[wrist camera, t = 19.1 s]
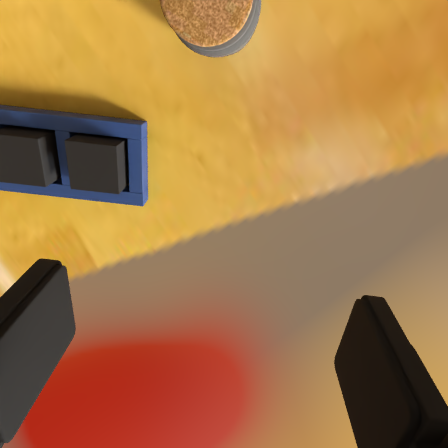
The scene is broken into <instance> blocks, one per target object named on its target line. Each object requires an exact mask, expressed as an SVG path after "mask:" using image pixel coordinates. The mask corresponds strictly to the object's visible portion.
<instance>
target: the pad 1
mask: <svg viewBox="0 0 448 448" xmlns="http://www.w3.org/2000/svg"><path fill="white" fill-rule="evenodd" d="M60 177H61V172H60V165H59V158H58V150H57V143H56V136H55V130H49V129H40V128H31V127H22V126H13V125H10V126H7V127H4V128H1V129H0V182H4V183H13V184H22V185H31V186H40V187H47V186H49V185H50V184H52V183H53V182H54V181H56V180H57V179H59V178H60Z"/></svg>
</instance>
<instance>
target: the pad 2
mask: <svg viewBox="0 0 448 448" xmlns="http://www.w3.org/2000/svg"><path fill="white" fill-rule="evenodd" d="M127 139H128V138H121V137H112V136H103V135H94V134H85V133H78V134H76V135H74V136H72V137H70V138H68V139H66V140H65V149H66V157H67V164H68V172H69V180H70V188H71V189H75V190H84V191H93V192H102V193H111V194H120V193H121V192H122V190H123V189H124V188H125V187H126V186H127V185H128V184H129V168H128V143H127Z"/></svg>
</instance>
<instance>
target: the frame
mask: <svg viewBox="0 0 448 448" xmlns="http://www.w3.org/2000/svg"><path fill="white" fill-rule="evenodd" d="M10 125H13V126H22V127H31V128H40V129H49V130H55V136H56V143H57V150H58V158H59V165H60V172H61V178H59V179H57V180H56V181H54V182H53V183H52V184H50V185H49V186H47V187H40V186H31V185H22V184H13V183H4V182H0V190H3V191H12V192H21V193H30V194H39V195H48V196H56V197H65V198H74V199H83V200H92V201H101V202H110V203H119V204H128V205H137V206H144V204H145V203H146V201H147V200H148V175H147V121H142V120H133V119H124V118H115V117H106V116H97V115H88V114H79V113H70V112H61V111H52V110H43V109H34V108H25V107H16V106H7V105H0V129H1V128H4V127H7V126H10ZM78 133H85V134H94V135H103V136H112V137H121V138H128V139H127V143H128V168H129V185H127V186H126V187H125V188H124V189H123V190H122V192H121V193H120V194H111V193H102V192H93V191H84V190H75V189H71V188H70V180H69V172H68V164H67V157H66V149H65V140H66V139H68V138H70V137H72V136H74V135H76V134H78Z"/></svg>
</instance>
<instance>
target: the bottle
mask: <svg viewBox="0 0 448 448" xmlns="http://www.w3.org/2000/svg"><path fill="white" fill-rule="evenodd" d="M160 4H161V8H162V11H163V14H164V16H165V18H166V20H167V22H168V23H169V25H170V26H171V28H172V29H173V30H174V31H175V33H176V34H177V36H178V37H179V39H180V40H181V41H182V42H183V43H184V44H185V45H186V46H187V47H188V48H190V49H191V50H193V51H194V52H196V53H198V54H201V55H204V56H208V57H223V56H228V55H231V54H234V53H236V52H238V51H239V50H241V49H242V48H243V47H244V46H245V45H246V44H247V43H248V42H249V40H250V39H251V37H252V35H253V33H254V31H255V28H256V26H257V23H258V19H259V15H260V9H261V0H160Z"/></svg>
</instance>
